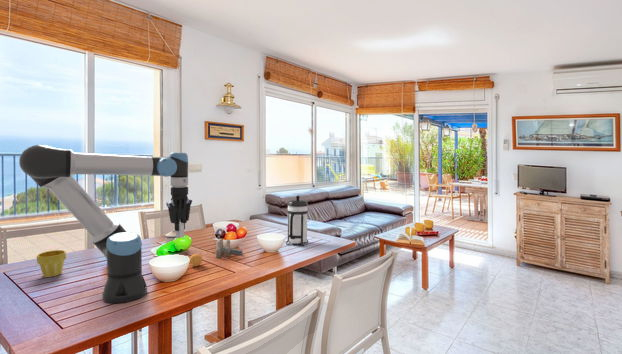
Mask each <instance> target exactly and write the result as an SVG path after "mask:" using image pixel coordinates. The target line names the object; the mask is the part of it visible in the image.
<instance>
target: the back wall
mask: <svg viewBox="0 0 622 354" xmlns="http://www.w3.org/2000/svg"><path fill="white" fill-rule="evenodd" d="M223 254H225V246H223ZM230 255H235V256H243V250H242V249H237V248H231V247H230Z"/></svg>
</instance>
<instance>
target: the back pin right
mask: <svg viewBox="0 0 622 354" xmlns="http://www.w3.org/2000/svg"><path fill="white" fill-rule="evenodd" d="M224 243H225V246H224V247H225V253H224V254H225V257H226V258H227V257H228V258H229V257H231V254H230V248H231V239H230V240H229V239H226V240H225V242H224Z"/></svg>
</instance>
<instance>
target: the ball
mask: <svg viewBox="0 0 622 354" xmlns="http://www.w3.org/2000/svg"><path fill="white" fill-rule="evenodd" d="M189 259H190V262H189V264H190V266H192V267H198V266H201V264H202V263H203V257H202V255H201V254H199V253H194V254H192V255H191V256H189Z"/></svg>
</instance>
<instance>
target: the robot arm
mask: <svg viewBox="0 0 622 354" xmlns="http://www.w3.org/2000/svg"><path fill="white" fill-rule="evenodd" d="M18 162H19V163H18V164H19V167H20V169H21V170H22V171H23V173H24V174H26V175H27V176H29V177H30V179H32V180H33V182H35V184H37V185H38V187H39V188H42V189H46V190H47V189H48V190H49V192H51V193H52V194H53V196H55V198H56V199H57V200H58V201H59V202H60V203H61V204H62V205H63V206H64V207H65V208H66V209H67V210H68V211H69V213H70V214H71V215H72V216H73V217H74V218H75V219H76V220H77V221H78V222H79V223H80V225H82V226H83V227H84V229H85V230H86V231H87V232H88V233H89V235H91V236H92V237H91V238H92V239H91V243H92V244H94V246H95V247H96V248H97V249H98V250H99V251H100V252H101V254H103V256H104V257H105V259H106V268H107V270H106V271H107V279H106V282H105V284H104V288H103V291H102V300H103V302H105V303H109V304H124V303H130V302H133V301H136V300H139V299H141V298H143V297H144V296H145V295H146V294H147V293H148V286H147V283H146V281H145V280H146V279H145V277H144V275H143V271H142V270H143V269H142V268H143V267H142V266H143V265H142V264H143V263H142V245H143V244H142V237H141V236H140V235H139V234H138V233H135V232H127V230H126V229H125V228H124V227H123V226H122V224H120V222H117V221H116V222H114V221H112V220H111V218H110V217H109V216H108V215H107V214H106V213H105V212H104V210H102V208H101V207H100V206H99V205H98V204H97V203H96V202H95V200H94V199H93V198H92V197H91V196H90V195H89V194H88V192H87V191H86V189H84V187H82V186H81V184H79V182H78V181H77V180H76V179H75V178H74V176H75V175H89V176H90V175H96V176H97V175H98V176H108V175H109V176H151V177H153V176H154V177H155V176H156V177H164V178H165V177H170V186H171V187H170V195H171V198H170V201H169V202H166V207H167V208H168V210H167V211H168V215H169V220H170V223H171V224H174V230H175V231H176V238H181V237H182V238H185V229H186V224H187V223H188V221H189V219H190V212H191V208H192V207H191V206H192V203H193V199H189V197H188V195H189V187H188V185H189V157H188V154H187V153H186V152H170V154H169V156H142V155H141V156H140V155H123V154H104V153H103V154H102V153H87V152H85V153H84V152H74V151H73V150H72V149H67V148H66V149H64V148H57V147H53V146H49V145H46V144H45V145H44V144H34V145H32V146H29V147H27V148H26V149H25V150H23V151H22V152H21V154H20V156H19V161H18Z"/></svg>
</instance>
